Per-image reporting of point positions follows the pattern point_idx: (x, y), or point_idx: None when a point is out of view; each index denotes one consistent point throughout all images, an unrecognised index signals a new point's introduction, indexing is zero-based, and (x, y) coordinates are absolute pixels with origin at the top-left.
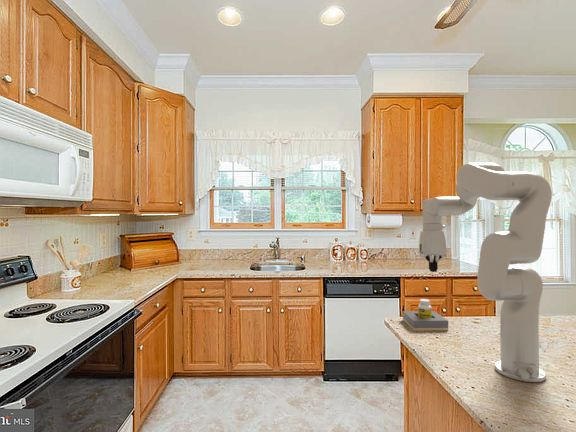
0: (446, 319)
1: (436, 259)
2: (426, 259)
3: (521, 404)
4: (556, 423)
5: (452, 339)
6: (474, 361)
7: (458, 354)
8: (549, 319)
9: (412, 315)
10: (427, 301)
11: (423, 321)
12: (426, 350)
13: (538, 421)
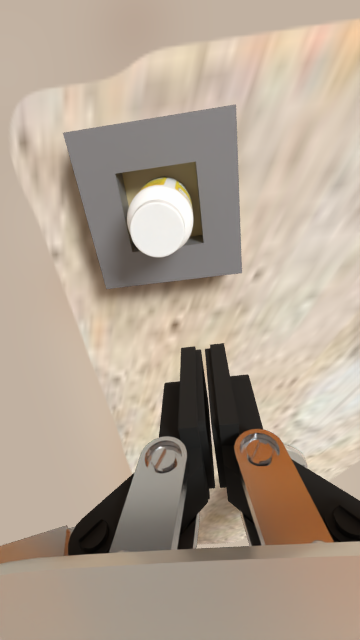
0: (240, 259)
1: (253, 536)
2: (116, 490)
3: (212, 521)
4: (227, 539)
5: (215, 337)
6: (211, 438)
7: None
8: None
9: (107, 212)
10: (166, 255)
11: (143, 283)
12: (127, 403)
13: (211, 538)
